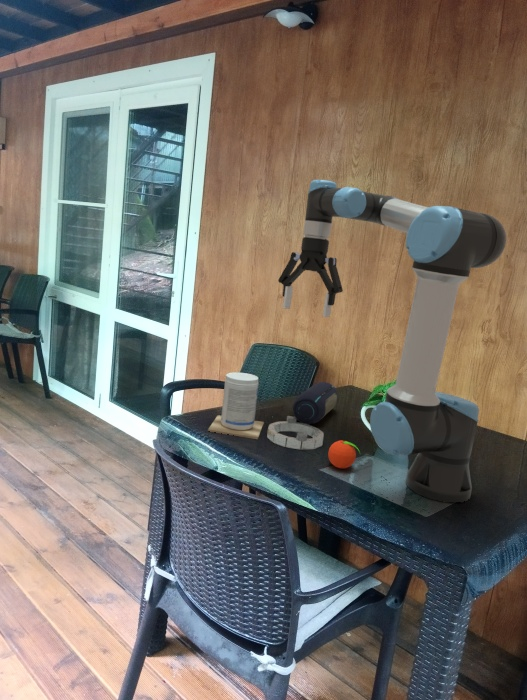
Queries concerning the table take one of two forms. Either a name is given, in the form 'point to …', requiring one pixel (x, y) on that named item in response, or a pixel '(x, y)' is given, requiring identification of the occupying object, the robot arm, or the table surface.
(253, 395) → the supplement tub
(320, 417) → the portable speaker
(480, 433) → the table surface
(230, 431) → the mat
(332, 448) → the clementine
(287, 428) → the collar
